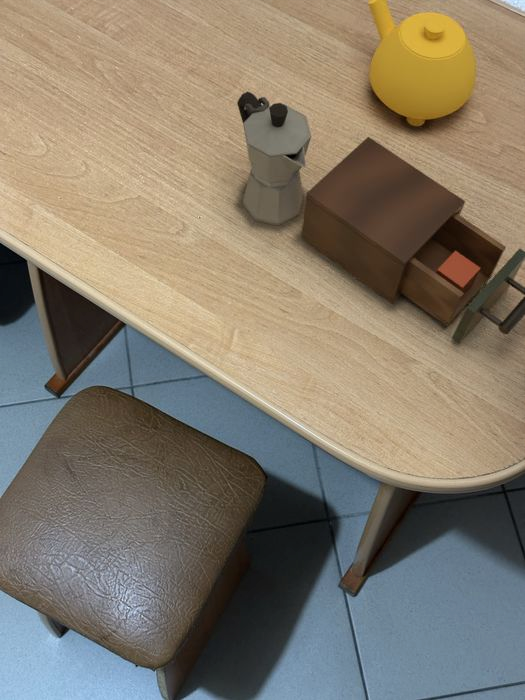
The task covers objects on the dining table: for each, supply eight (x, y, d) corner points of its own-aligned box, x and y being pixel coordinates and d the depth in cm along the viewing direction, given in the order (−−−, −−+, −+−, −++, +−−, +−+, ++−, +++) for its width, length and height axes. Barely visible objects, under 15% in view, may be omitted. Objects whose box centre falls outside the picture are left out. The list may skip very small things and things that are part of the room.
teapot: (326, 71, 130) (335, -3, 118) (399, 28, 135) (415, -47, 122) (414, 151, 123) (434, 81, 111) (488, 103, 128) (515, 31, 115)
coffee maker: (323, 218, 117) (337, 129, 101) (270, 245, 115) (276, 158, 99) (266, 147, 122) (270, 52, 106) (214, 172, 120) (211, 78, 104)
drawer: (537, 305, 110) (557, 273, 103) (487, 364, 106) (505, 334, 99) (421, 225, 116) (433, 189, 109) (369, 278, 111) (378, 244, 104)
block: (473, 284, 110) (480, 268, 107) (455, 303, 109) (462, 287, 105) (448, 267, 111) (455, 250, 108) (430, 286, 110) (437, 269, 106)
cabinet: (448, 245, 115) (465, 201, 107) (392, 304, 111) (405, 263, 102) (358, 183, 120) (368, 136, 111) (301, 237, 115) (306, 192, 107)
